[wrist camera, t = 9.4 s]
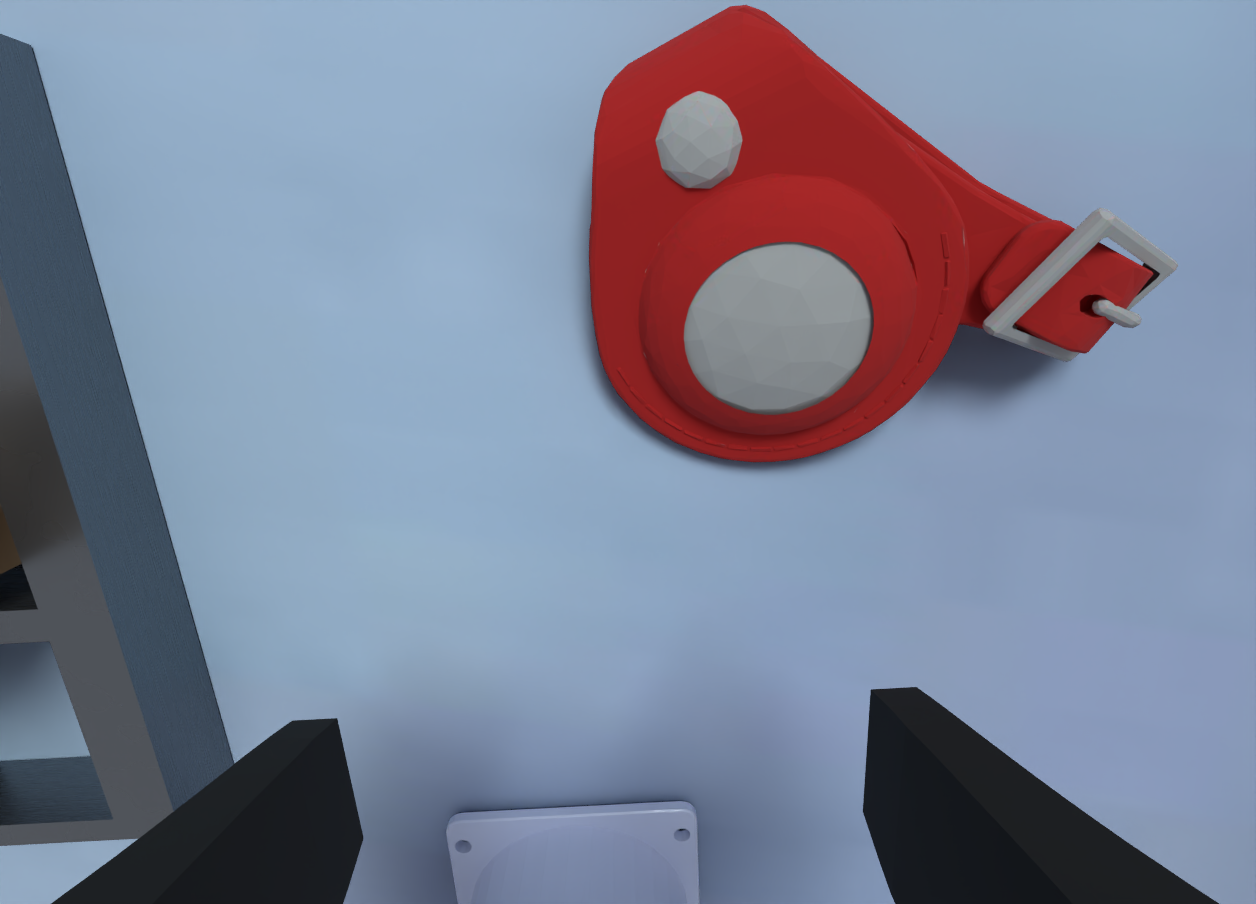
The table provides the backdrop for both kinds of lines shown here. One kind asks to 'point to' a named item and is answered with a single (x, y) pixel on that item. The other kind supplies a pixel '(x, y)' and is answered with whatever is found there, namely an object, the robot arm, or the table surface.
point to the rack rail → (85, 521)
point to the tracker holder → (810, 250)
